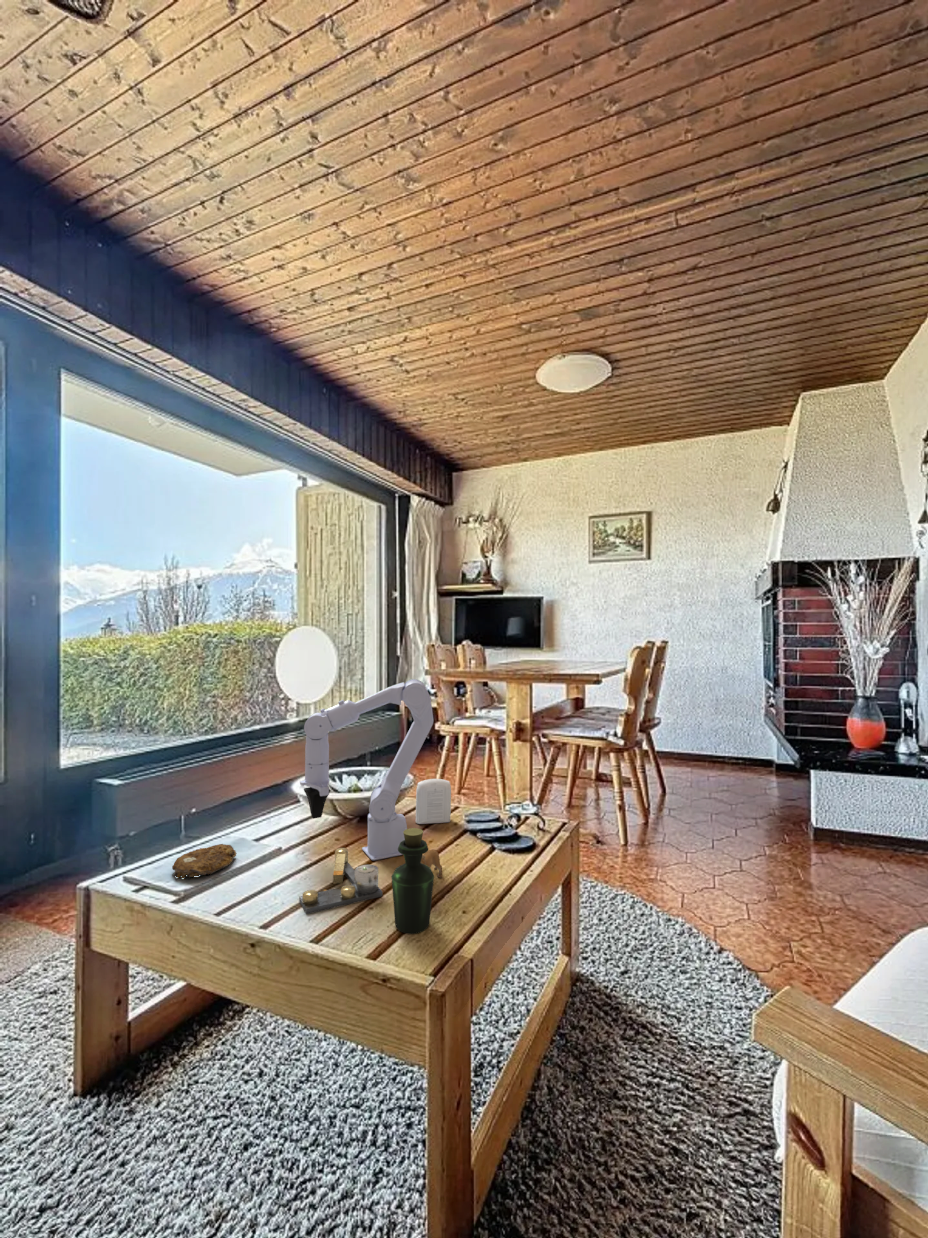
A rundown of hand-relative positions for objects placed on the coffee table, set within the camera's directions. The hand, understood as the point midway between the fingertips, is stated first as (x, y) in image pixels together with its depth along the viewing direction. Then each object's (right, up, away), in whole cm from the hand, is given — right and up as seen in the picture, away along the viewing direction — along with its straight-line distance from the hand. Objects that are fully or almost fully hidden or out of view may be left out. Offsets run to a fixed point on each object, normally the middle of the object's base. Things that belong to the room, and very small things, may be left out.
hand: (316, 817), depth 143 cm
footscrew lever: (+8, -9, -11) cm, 16 cm away
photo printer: (+28, -10, +24) cm, 38 cm away
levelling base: (+8, -9, -17) cm, 21 cm away
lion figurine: (+28, -10, -16) cm, 34 cm away
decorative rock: (-24, -10, -7) cm, 27 cm away
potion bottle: (+27, -10, -32) cm, 43 cm away
